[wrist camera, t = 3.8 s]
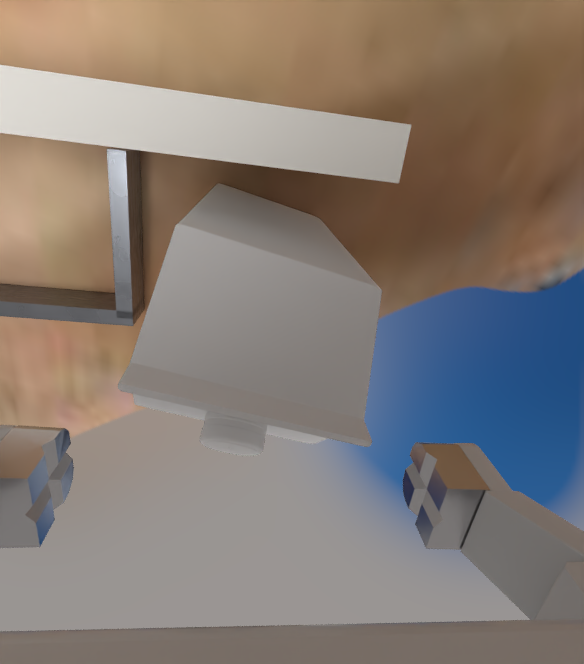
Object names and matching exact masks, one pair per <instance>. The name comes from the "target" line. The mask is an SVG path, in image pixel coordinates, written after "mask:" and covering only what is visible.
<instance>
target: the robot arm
mask: <svg viewBox="0 0 584 664" xmlns="http://www.w3.org/2000/svg"><path fill="white" fill-rule="evenodd" d="M70 444H71V442H70V436H69V431H68V430H66V429H65V428H52V427H36V426H20V425H18V426H15V425H0V548H19V547H20V548H23V547H40V546H41V544H42V542H43V541H44V539H45V537H46V535H47V533H48V531H49V529H50V528H51V525H52V524H53V522H54V520H55V518H54V511H53V510H54V509H55V508H57V507H58V506H59V505H61V504H62V503H64V501H65V499H66V497H67V495H68V493H69V491H70V487H71V483H72V480H73V469H74V467H73V459H72V458H71V457H70V456H69V455H68V454H67V453H66V450H67V449H68V447H69V445H70ZM410 456H411V459H412V461H413V463H412V464H411V465H410V466H409V467H408V468H407V469H406V470H405V474H404V478H403V493H404V498H405V501H406V504H407V506H408V508H409V509H410V510H411V511H412V512H413V513H415V514H416V515H417V516H418V517H417V520H416V523H415V525H416V526H417V529H418V531H419V534H420V536H421V538H422V540H423V542H424V545H425V547H426V548H427V549H456V550H461V552H462V553H463V554H464V555H465V556H466V557H467V558H468V559H469V560H470V561H471V562H472V563H473V564H474V565H475V566H476V567H477V568H478V569H479V570H480V571H481V572H482V573H483V574H484V575H485V576H486V577H487V578H488V579H489V580H491V581H492V583H494V584H495V585H496V586H497V587H498V588H499V589H500V590H501V591H502V592H503V593H504V594H505V595H506V596H507V597H508V598H509V599H510V600H511V601H512V602H513V603H514V604H515V605H516V606H517V607H518V608H519V609H520V610H521V611H522V612H523V613H524V614H525V615H526V616H527V617H528V618H530V620H511V621H462V622H418V623H375V624H374V623H373V624H328V625H283V626H282V625H281V626H234V627H186V628H141V629H140V628H139V629H97V630H95V629H93V630H48V631H3V632H2V631H1V632H0V664H584V531H582V530H580V529H579V528H577V527H575V526H574V525H572V524H570V523H569V522H567V521H566V520H564V519H563V518H561V517H559V516H558V515H556V514H554V513H553V512H551V511H550V510H548V509H546V508H545V507H543V506H542V505H540V504H538V503H537V502H535V501H533V500H532V499H530V498H529V497H527V496H525V495H524V494H522V493H520V492H519V491H512V490H511V488H510V487H509V486H508V484H507V483H506V482H505V480H504V479H503V478H502V477H501V475H500V474H499V473H498V471H497V470H496V469H495V467H494V466H493V465H492V463H491V462H490V461H489V460H488V458H487V457H486V456H485V454H484V453H483V452H482V450H481V449H480V448H479V447H478V446H477V445H475V444H473V443H454V444H447V443H418V442H417V443H415V444H414V446H413V447H412V450H411V453H410Z"/></svg>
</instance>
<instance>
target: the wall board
mask: <svg viewBox="0 0 584 664" xmlns="http://www.w3.org/2000/svg"><path fill="white" fill-rule="evenodd" d="M410 129H411V125H409V124H402V123H396V122H389V121H382V120H375V119H368V118H361V117H354V116H348V115H341V114H334V113H327V112H320V111H313V110H306V109H300V108H293V107H286V106H279V105H272V104H265V103H259V102H252V101H245V100H238V99H231V98H224V97H217V96H211V95H204V94H197V93H190V92H183V91H176V90H169V89H163V88H156V87H149V86H142V85H135V84H128V83H122V82H115V81H108V80H101V79H94V78H87V77H80V76H74V75H67V74H60V73H53V72H46V71H39V70H32V69H26V68H19V67H12V66H5V65H0V133H6V134H14V135H22V136H30V137H38V138H45V139H53V140H61V141H69V142H77V143H85V144H93V145H101V146H108V147H116V148H124V149H132V150H140V151H148V152H156V153H164V154H172V155H179V156H187V157H195V158H203V159H211V160H219V161H227V162H235V163H242V164H250V165H258V166H266V167H274V168H282V169H290V170H298V171H305V172H313V173H321V174H329V175H337V176H345V177H353V178H361V179H369V180H376V181H384V182H392V183H399V180H400V176H401V171H402V166H403V162H404V157H405V152H406V148H407V143H408V138H409V134H410Z"/></svg>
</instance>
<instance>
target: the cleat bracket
mask: <svg viewBox="0 0 584 664" xmlns="http://www.w3.org/2000/svg"><path fill="white" fill-rule="evenodd" d="M107 161H108V178H109V195H110V212H111V229H112V246H113V263H114V281H115V294H114V293H102V292H90V291H78V290H66V289H54V288H43V287H31V286H19V285H7V284H0V316H7V317H20V318H34V319H47V320H60V321H73V322H87V323H100V324H113V325H126V326H133V325H134V324H135V322H136V321H137V319H138V318H139V317H140V315H141V314H142V312H143V311H144V275H143V240H142V205H141V170H140V150H132V149H124V148H113V149H107Z"/></svg>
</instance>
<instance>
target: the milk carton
mask: <svg viewBox="0 0 584 664" xmlns="http://www.w3.org/2000/svg"><path fill="white" fill-rule="evenodd" d="M381 294H382V290H381V289H380V288H379V287H378V285H377V284H376V283H375V282H374V281H373V280H372V278H371V277H370V276H369V275H368V274H367V273H366V271H365V270H364V269H363V268H362V267H361V266H360V265H359V263H358V262H357V261H356V260H355V259H354V258H353V256H352V255H351V254H350V253H349V252H348V251H347V249H346V248H345V247H344V246H343V245H342V244H341V243H340V241H339V240H338V239H337V238H336V237H335V236H334V234H333V233H332V232H331V231H330V230H329V229H328V227H327V226H326V225H325V224H324V223H323V222H322V220H321V219H320V218H318V217H316V216H313V215H310V214H307V213H305V212H302V211H299V210H296V209H293V208H290V207H287V206H284V205H282V204H279V203H276V202H273V201H270V200H267V199H264V198H261V197H259V196H256V195H253V194H250V193H247V192H244V191H241V190H238V189H236V188H233V187H230V186H227V185H224V184H220V183H218V184H216V185H215V186H214V187H213V188H212V189H211V190H210V191H209V193H208V194H207V195H206V196H205V197H204V198H203V199H202V200H201V201H200V202H199V203H198V204H197V205H196V206H195V207H194V208H193V209H192V210H191V211H190V212H189V213H188V214H187V215H186V216H185V217H184V218H183V219H182V220H181V221H180V222H179V223H178V224H176V226H175V229H174V232H173V235H172V238H171V241H170V244H169V247H168V250H167V253H166V256H165V259H164V262H163V265H162V268H161V271H160V274H159V277H158V280H157V283H156V286H155V289H154V292H153V295H152V298H151V301H150V304H149V307H148V310H147V313H146V316H145V319H144V322H143V325H142V328H141V331H140V334H139V337H138V340H137V343H136V346H135V349H134V352H133V355H132V358H131V361H130V364H129V366H128V367H127V369H126V371H125V373H124V374H123V376H122V378H121V380H120V381H119V384H118V389H119V390H121V391H123V392H128V393H132V394H133V397H134V403H135V404H136V405H139V406H143V407H147V408H151V409H155V410H160V411H164V412H169V413H173V414H178V415H182V416H187V417H191V418H196V419H200V420H204V426H203V428H202V431H201V435H200V443H201V444H202V445H204V446H205V447H208V448H210V449H213V450H216V451H220V452H225V453H229V454H235V455H243V456H254V455H258V454H261V453H262V452H263V448H264V443H265V434H267V435H272V436H276V437H281V438H285V439H289V440H294V441H299V442H304V443H310V444H316V443H318V442H321V441H323V440H325V439H328V438H329V439H333V440H338V441H342V442H346V443H351V444H355V445H359V446H364V447H368V446H370V445H371V443H372V440H371V437H370V435H369V432H368V430H367V427H366V424H365V422H364V416H365V409H366V402H367V395H368V387H369V380H370V373H371V366H372V359H373V350H374V345H375V337H376V330H377V323H378V316H379V309H380V302H381Z"/></svg>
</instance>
